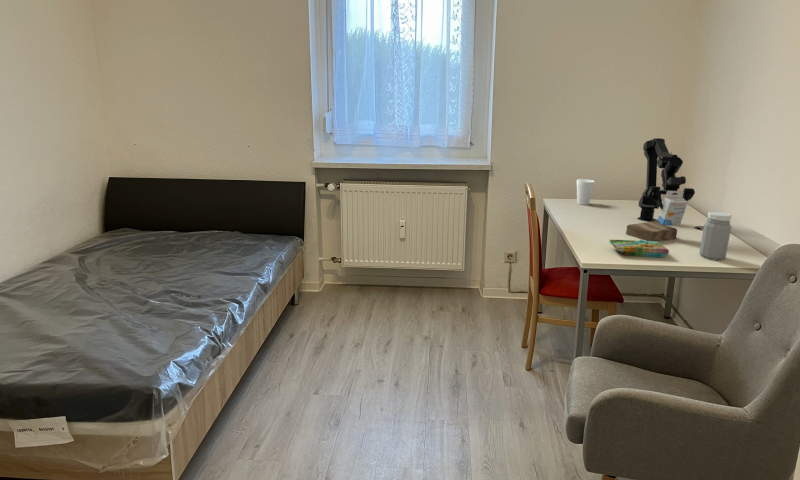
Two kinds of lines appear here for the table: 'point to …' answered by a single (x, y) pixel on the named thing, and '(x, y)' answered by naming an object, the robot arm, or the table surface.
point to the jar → (715, 235)
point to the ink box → (672, 209)
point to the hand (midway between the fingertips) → (672, 209)
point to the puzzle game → (640, 248)
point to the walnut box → (651, 231)
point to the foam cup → (584, 191)
